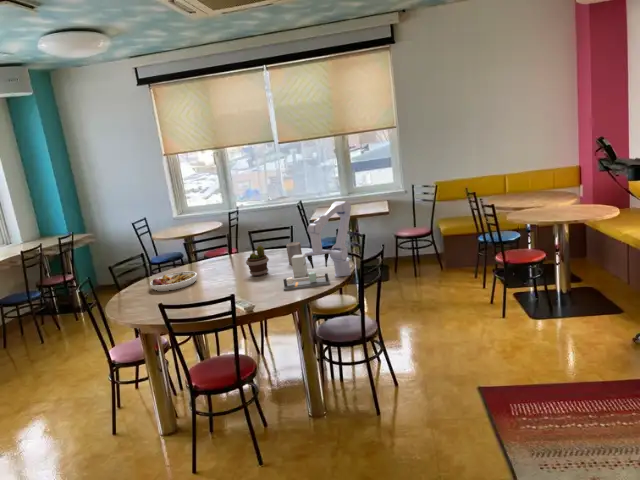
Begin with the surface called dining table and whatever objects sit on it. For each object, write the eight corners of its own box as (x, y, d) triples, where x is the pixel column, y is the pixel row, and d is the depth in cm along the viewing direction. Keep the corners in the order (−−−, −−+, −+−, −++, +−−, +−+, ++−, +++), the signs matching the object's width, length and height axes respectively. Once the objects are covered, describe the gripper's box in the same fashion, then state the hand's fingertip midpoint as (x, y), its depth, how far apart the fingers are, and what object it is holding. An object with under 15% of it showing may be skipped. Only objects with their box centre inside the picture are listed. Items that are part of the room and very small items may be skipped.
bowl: (183, 276, 360) (181, 265, 358) (206, 281, 339) (204, 269, 337) (143, 289, 340) (141, 278, 338) (165, 295, 318) (162, 283, 317)
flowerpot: (252, 279, 325) (247, 249, 321) (245, 274, 339) (240, 245, 335) (274, 274, 331) (268, 244, 326) (266, 269, 344) (261, 240, 340)
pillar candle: (295, 260, 357) (291, 239, 354) (306, 261, 351) (302, 239, 348) (286, 264, 350) (282, 243, 346) (297, 265, 344) (293, 243, 341)
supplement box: (305, 276, 314) (302, 257, 311) (293, 277, 315) (290, 258, 313) (308, 273, 321) (305, 253, 318) (296, 274, 322) (293, 254, 320)
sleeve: (316, 279, 298) (315, 271, 297) (316, 281, 293) (315, 273, 292) (309, 279, 298) (308, 272, 297) (309, 282, 294) (308, 274, 293)
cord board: (329, 279, 301) (327, 270, 299) (329, 284, 291) (327, 275, 290) (285, 285, 302) (283, 276, 301) (283, 290, 292) (282, 281, 291)
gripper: (303, 247, 288) (306, 270, 290) (329, 244, 287) (332, 267, 290) (304, 244, 295) (307, 267, 297) (329, 241, 294) (332, 264, 297)
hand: (319, 267), depth 294 cm, fingers open, 7 cm apart
